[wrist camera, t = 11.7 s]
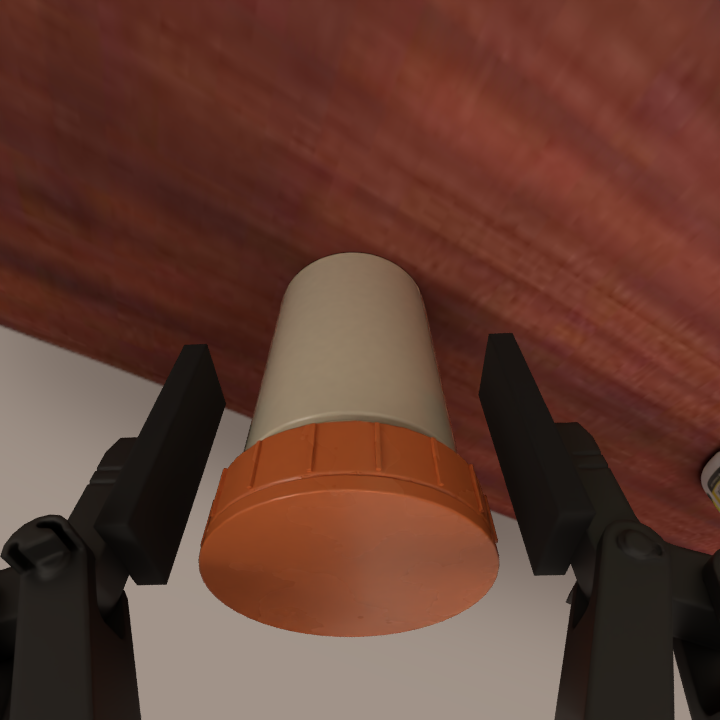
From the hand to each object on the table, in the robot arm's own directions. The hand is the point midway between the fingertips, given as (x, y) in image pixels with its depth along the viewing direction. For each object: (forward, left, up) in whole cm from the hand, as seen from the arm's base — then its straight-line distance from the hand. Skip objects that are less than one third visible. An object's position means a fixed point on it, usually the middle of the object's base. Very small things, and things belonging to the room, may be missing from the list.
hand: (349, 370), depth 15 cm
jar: (0, -1, -5) cm, 5 cm away
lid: (0, -1, +6) cm, 6 cm away
